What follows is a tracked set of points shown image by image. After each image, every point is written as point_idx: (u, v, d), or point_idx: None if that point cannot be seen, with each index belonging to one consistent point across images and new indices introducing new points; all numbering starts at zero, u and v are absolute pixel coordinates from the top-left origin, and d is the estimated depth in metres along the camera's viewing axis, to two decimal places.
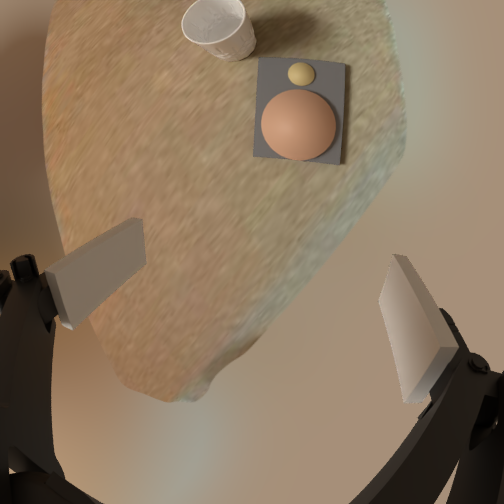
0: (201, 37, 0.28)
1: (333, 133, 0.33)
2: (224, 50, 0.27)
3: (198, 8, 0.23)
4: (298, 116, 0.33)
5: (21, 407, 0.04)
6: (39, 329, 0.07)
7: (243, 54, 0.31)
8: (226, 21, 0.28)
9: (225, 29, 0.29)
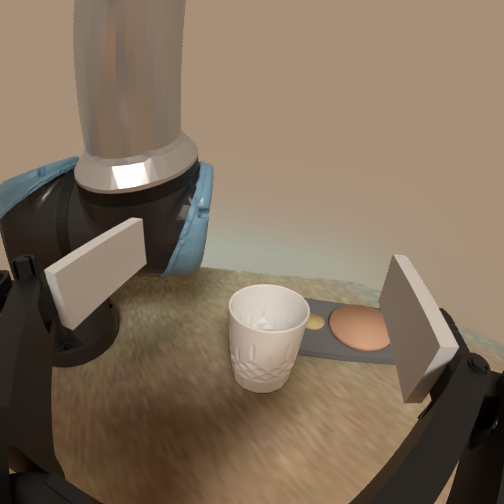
0: None
1: (363, 306, 0.40)
2: None
3: None
4: (356, 323, 0.36)
5: (21, 407, 0.04)
6: (39, 329, 0.07)
7: None
8: None
9: None
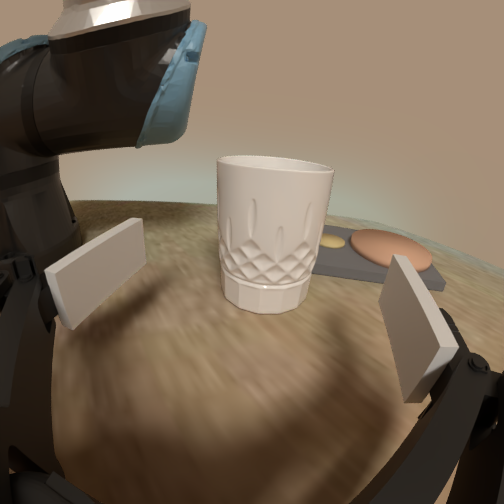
0: None
1: (388, 232, 0.32)
2: None
3: None
4: (384, 244, 0.28)
5: (21, 407, 0.04)
6: (39, 329, 0.07)
7: None
8: None
9: None
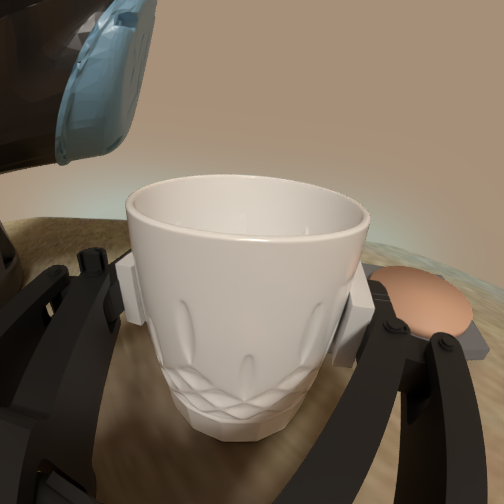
0: None
1: (415, 269, 0.23)
2: None
3: None
4: (413, 292, 0.19)
5: (63, 417, 0.04)
6: (100, 330, 0.08)
7: None
8: None
9: None
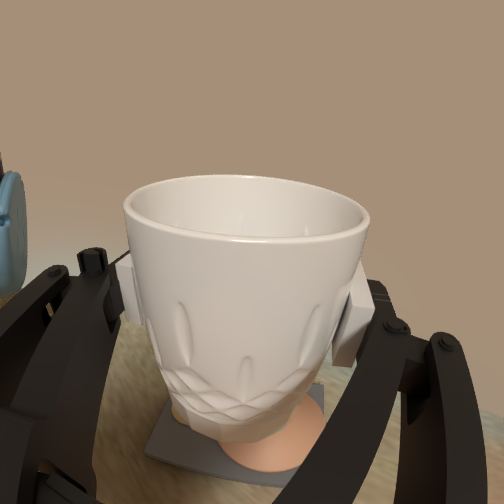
0: None
1: None
2: None
3: None
4: None
5: (64, 417, 0.04)
6: (100, 330, 0.08)
7: None
8: None
9: None
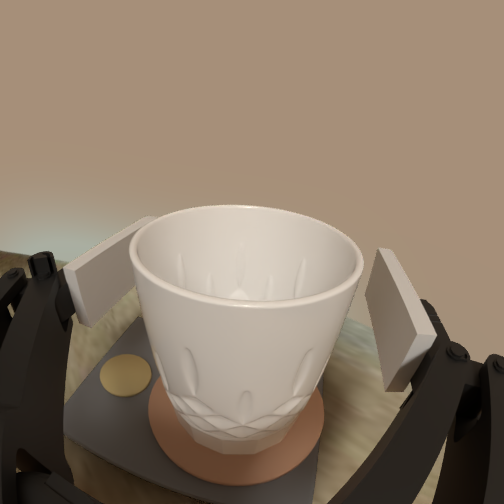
0: None
1: None
2: None
3: None
4: None
5: (32, 409, 0.04)
6: (55, 328, 0.07)
7: None
8: None
9: None
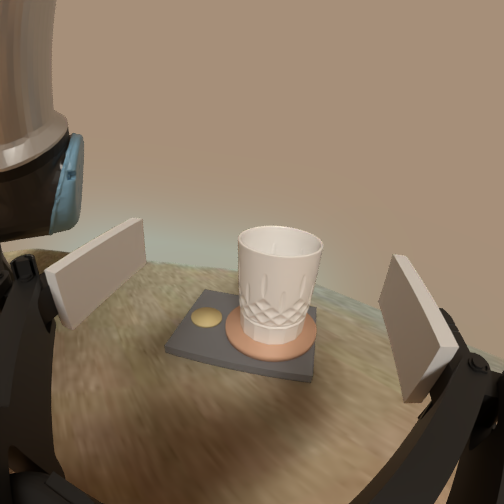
0: None
1: None
2: None
3: None
4: None
5: (21, 407, 0.04)
6: (39, 329, 0.07)
7: None
8: None
9: None
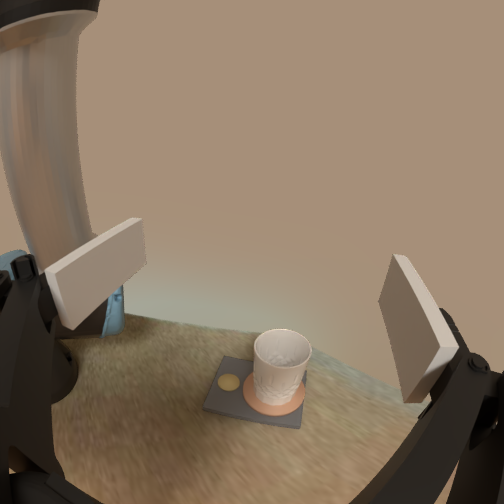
0: None
1: None
2: None
3: None
4: None
5: (21, 407, 0.04)
6: (39, 329, 0.07)
7: None
8: None
9: None
